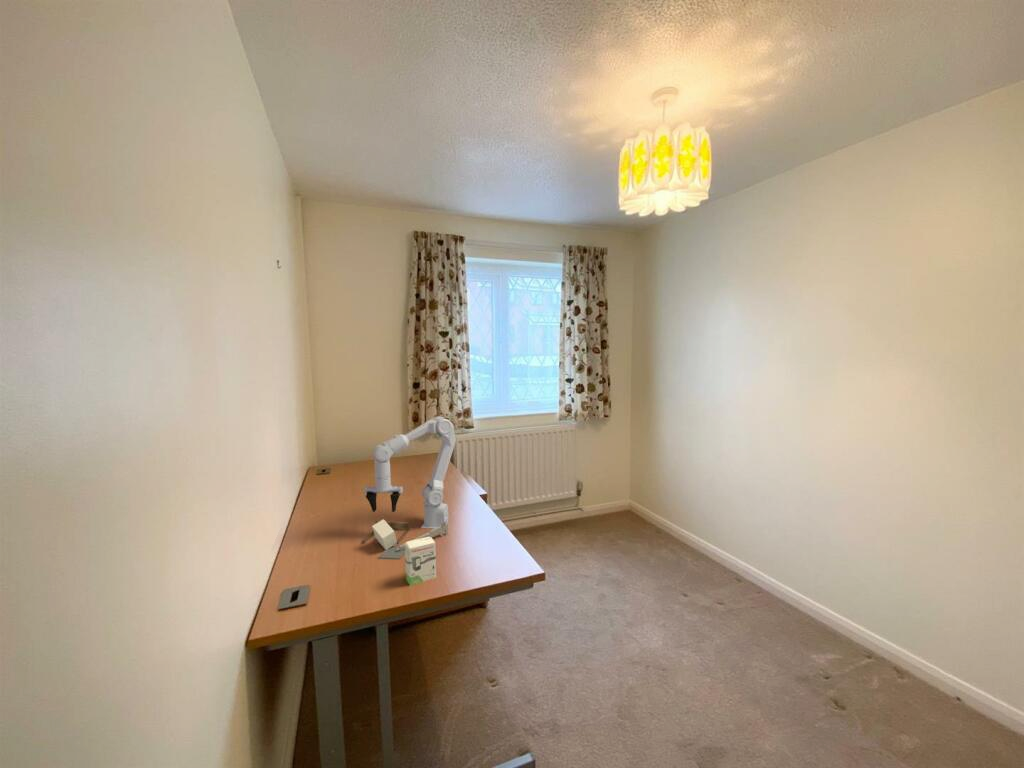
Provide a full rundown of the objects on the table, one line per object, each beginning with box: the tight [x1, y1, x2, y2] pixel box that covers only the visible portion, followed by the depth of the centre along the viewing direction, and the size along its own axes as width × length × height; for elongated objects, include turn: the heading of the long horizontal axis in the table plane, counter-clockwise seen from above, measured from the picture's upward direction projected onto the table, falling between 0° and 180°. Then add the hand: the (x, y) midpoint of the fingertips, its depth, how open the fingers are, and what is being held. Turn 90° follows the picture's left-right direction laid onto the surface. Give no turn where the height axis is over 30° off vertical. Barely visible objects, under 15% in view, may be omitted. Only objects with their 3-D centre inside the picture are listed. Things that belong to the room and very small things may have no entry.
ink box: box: [404, 537, 437, 586], centre depth 126 cm, size 9×5×12 cm, turn 119°
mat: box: [377, 545, 405, 560], centre depth 142 cm, size 8×9×1 cm
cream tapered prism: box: [371, 518, 398, 550], centre depth 146 cm, size 4×6×8 cm
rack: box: [361, 521, 411, 545], centre depth 155 cm, size 14×12×4 cm
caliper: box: [396, 522, 449, 551], centre depth 148 cm, size 20×1×6 cm, turn 129°
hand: (384, 511), depth 155 cm, fingers open, 7 cm apart
